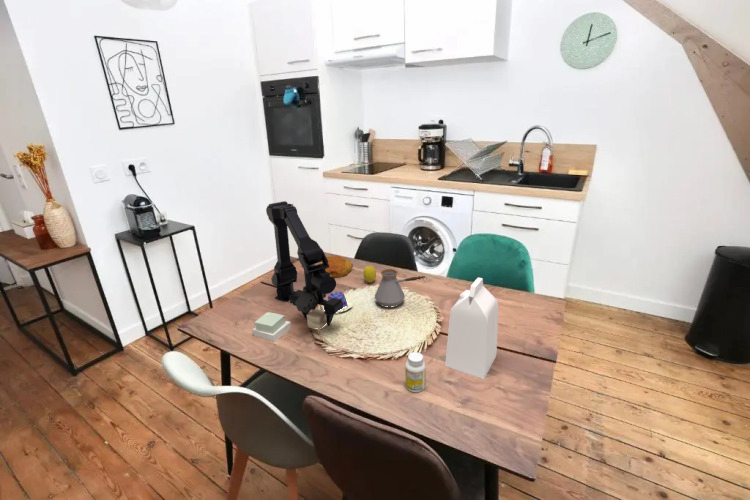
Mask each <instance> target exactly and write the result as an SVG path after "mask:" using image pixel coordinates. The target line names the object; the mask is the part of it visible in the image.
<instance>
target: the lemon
mask: <svg viewBox="0 0 750 500" xmlns="http://www.w3.org/2000/svg"><path fill="white" fill-rule="evenodd" d="M362 274H363V276H362V277H363V279H364V280H365V281H366V282H367V283H372V282H373V281H375V280H376V278H377V272H376V268H375V267H374V266H372V265H367V266H365V268H364V269H363V273H362Z"/></svg>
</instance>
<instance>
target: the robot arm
mask: <svg viewBox="0 0 750 500" xmlns="http://www.w3.org/2000/svg"><path fill="white" fill-rule="evenodd" d="M265 210H266V211H265V212H266V215H267V219H268V220H269V222H271V224H272V225H273V228H274V240H275V247H276V257H277V258H276V259H277V261H276V263H275V265H274V266H273V274H272V276H271V284H272V285H273V286H274V287H275V288H276V296H275V297H274V298H275V299H276V300H279V301H280V300H281V301H284V302H289V304H291V305H293V306H294V307H296V309H297V312H301V314H302V315H303V318H304V320H306V321H307V314H309V313H310V312H311V311H312V310H315V308H316V309H317V307H318V305H319V306H322V305H323V306H324V310H325V312H324V313H325V314H326V319H327V325H326V326H327V327H330V326H331V324H332V320H333V318H334V316H335V314H337V313H336V312H339V311H338V310H340V309H341V308H342V307H343V301H342V300H341V299H337V298H331V299H330V300H329V301H328V299H325V298H326V297H327V295H330V294H331V293H333V292H334V290H335V289H336V287H337V281H336V278H333V277H331V276H330V273H329V272H326V271H325V269H326V268H329V265H328V260H327V258H326V257H327V256H326V254H325V252H324V250H323V248H321V246H320V245H319V243H318V242H317V241H316V240H314V239H312V238H311V237H310V235H309V233H308V231H307V230H306V228H305V225H304V224H303V222H302V220H301V218H300V216H299V215H298V209H297V207H296V206H294V204H293V203H288V202H287V201H286V200H285V201H278V202H277V201H276V202H272V203H269V204H268V205H267V206H266V209H265ZM288 229H289V230H288ZM289 232H290V234H291V235H292V237H293V239H294V240H293V241H295V243H296V246H297V252H296V254H297V256H298V257H297V258H298V262H299V263H300V264H301V265H300V266H301V268H302V269H303V276H304V284H305V286H303V287H302V289H297V290H296V291H295V289H294V283H297V280H298V271H297V267H296V266H295V265H294V264H293V263H292V261H291V253H290V252H291V251H290V241H289ZM321 262H323V263H322V264H319V263H321Z"/></svg>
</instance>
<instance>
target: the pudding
mask: <svg viewBox="0 0 750 500" xmlns="http://www.w3.org/2000/svg"><path fill="white" fill-rule="evenodd" d="M331 298H337V299H341V300H342V301H343V307H345V306H347V307H348V305H347V301H346V299H347V298H346V296H345V294H344V293H343V292H341V291H333V292H331V293H329V294H328V297H327V300H328V301H329V300H330V299H331ZM343 307H342V308H343ZM342 308H341V309H342Z"/></svg>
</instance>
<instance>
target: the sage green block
mask: <svg viewBox="0 0 750 500" xmlns="http://www.w3.org/2000/svg"><path fill="white" fill-rule="evenodd" d="M285 321H286V316H285V314H280V313H273V312H271V311H267V312H265V313H264V314H263V315H262V316H260V317H259V318H258V319H257V320H255V322H254V326H255V327H254V328H256V330H258V331H262V332H267V333H271V334H274V333H275V332H276V331H277V330H278V329H279V328H280V327H282V326H283V325H284V324H285Z"/></svg>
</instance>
